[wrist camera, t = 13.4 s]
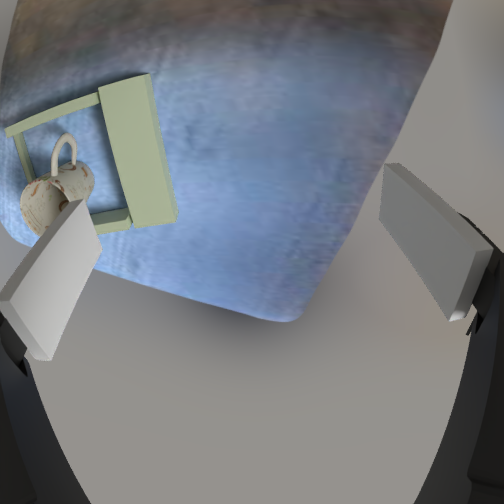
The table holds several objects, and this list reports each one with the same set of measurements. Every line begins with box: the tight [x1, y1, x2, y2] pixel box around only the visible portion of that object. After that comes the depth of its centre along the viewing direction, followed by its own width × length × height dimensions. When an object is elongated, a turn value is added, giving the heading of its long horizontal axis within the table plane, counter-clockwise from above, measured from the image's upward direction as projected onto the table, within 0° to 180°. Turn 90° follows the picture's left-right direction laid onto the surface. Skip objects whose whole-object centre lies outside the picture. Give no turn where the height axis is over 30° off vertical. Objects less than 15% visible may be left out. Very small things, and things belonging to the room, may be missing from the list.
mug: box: [20, 133, 94, 237], centre depth 35 cm, size 8×13×10 cm, turn 167°
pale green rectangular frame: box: [5, 73, 179, 235], centre depth 37 cm, size 20×22×4 cm
